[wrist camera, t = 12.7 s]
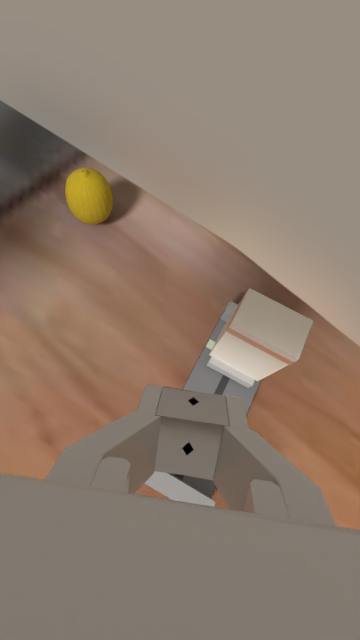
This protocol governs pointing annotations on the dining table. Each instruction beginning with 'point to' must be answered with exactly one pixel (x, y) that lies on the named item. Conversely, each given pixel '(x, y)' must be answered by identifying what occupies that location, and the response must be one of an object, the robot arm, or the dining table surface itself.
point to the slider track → (211, 383)
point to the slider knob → (258, 339)
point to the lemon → (89, 195)
